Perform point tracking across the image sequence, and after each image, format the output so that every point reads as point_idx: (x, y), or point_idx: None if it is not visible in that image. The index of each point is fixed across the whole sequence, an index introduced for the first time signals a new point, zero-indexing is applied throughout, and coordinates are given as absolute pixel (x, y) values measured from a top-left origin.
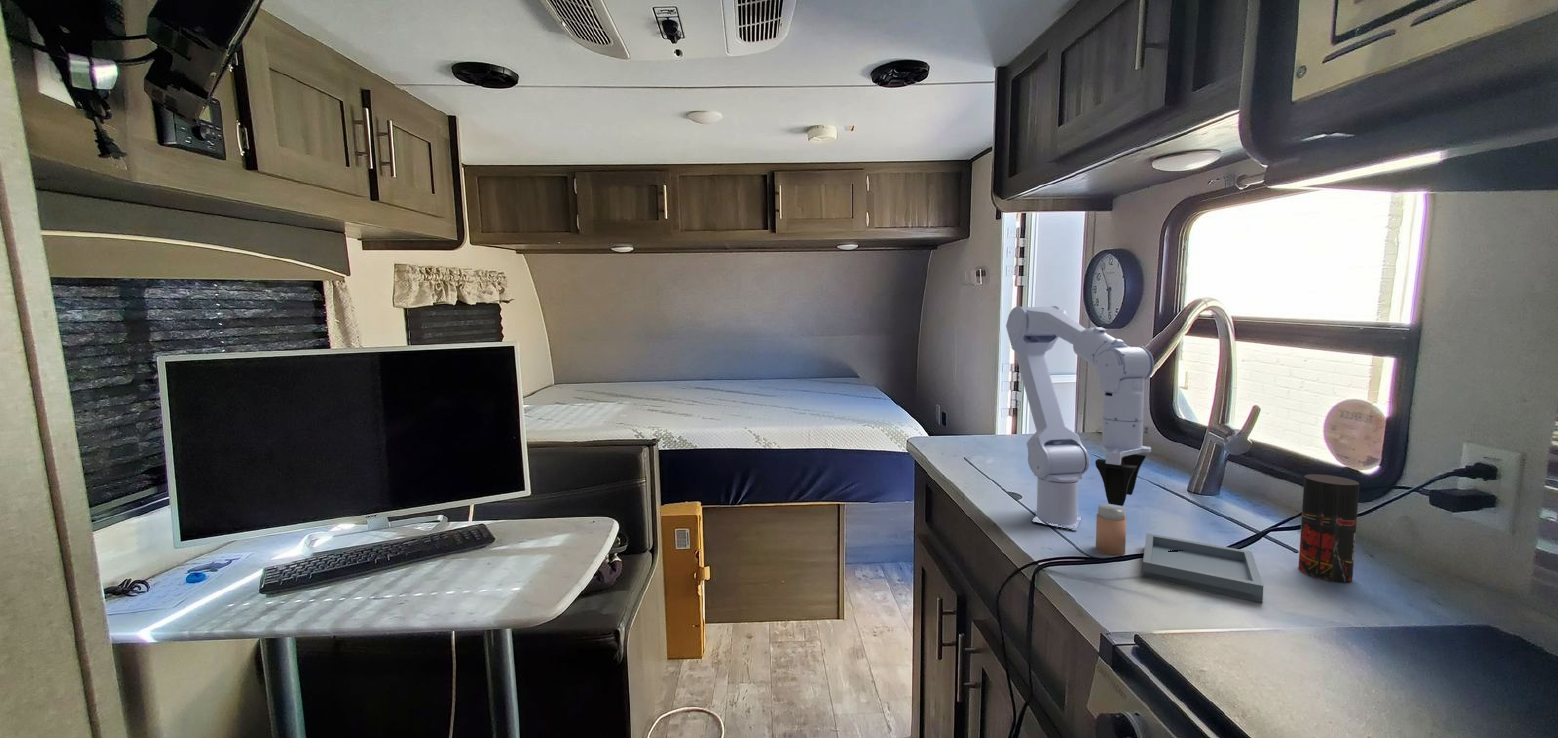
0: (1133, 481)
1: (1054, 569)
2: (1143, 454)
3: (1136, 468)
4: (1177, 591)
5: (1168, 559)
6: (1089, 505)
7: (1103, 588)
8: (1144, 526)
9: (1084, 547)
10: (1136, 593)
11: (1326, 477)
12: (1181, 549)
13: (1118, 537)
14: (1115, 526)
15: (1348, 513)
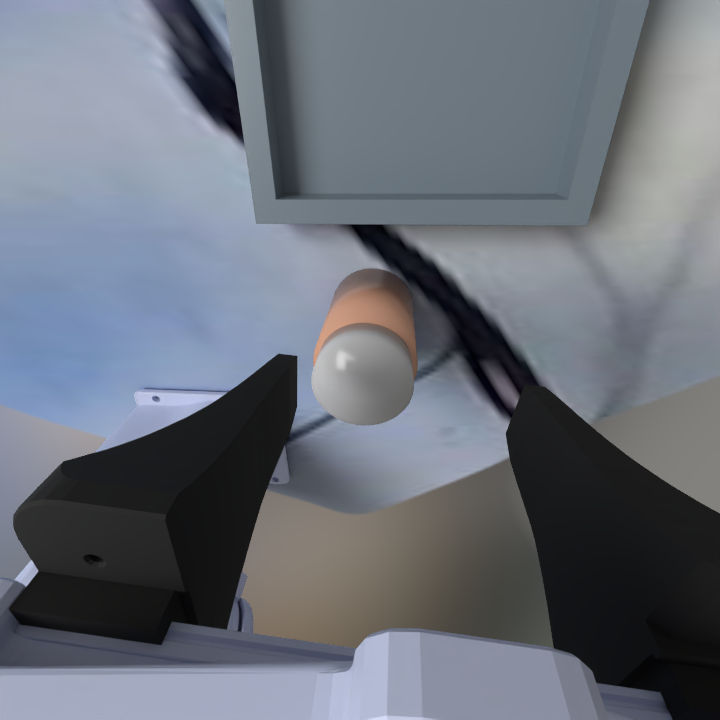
0: (271, 396)
1: (591, 411)
2: (108, 524)
3: (233, 450)
4: (652, 100)
5: (414, 136)
6: (8, 378)
7: (689, 306)
8: (58, 223)
9: None
10: (705, 224)
11: None
12: (273, 88)
13: (407, 311)
14: (414, 339)
15: None
